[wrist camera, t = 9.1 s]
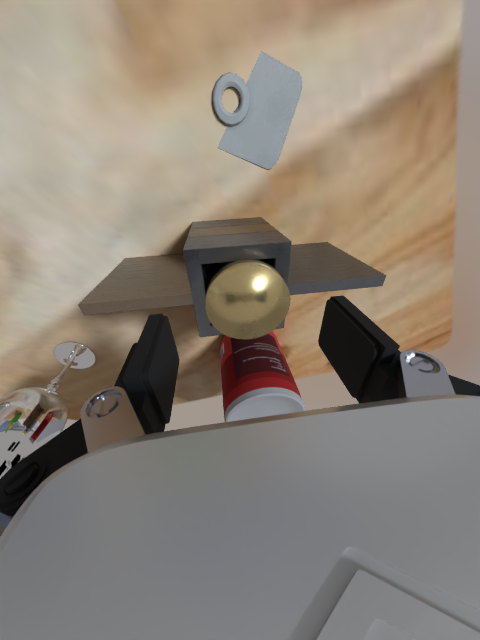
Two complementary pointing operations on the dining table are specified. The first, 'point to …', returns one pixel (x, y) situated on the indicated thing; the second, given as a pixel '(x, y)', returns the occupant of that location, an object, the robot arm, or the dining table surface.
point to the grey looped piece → (259, 111)
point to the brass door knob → (247, 299)
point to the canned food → (256, 379)
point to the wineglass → (37, 410)
